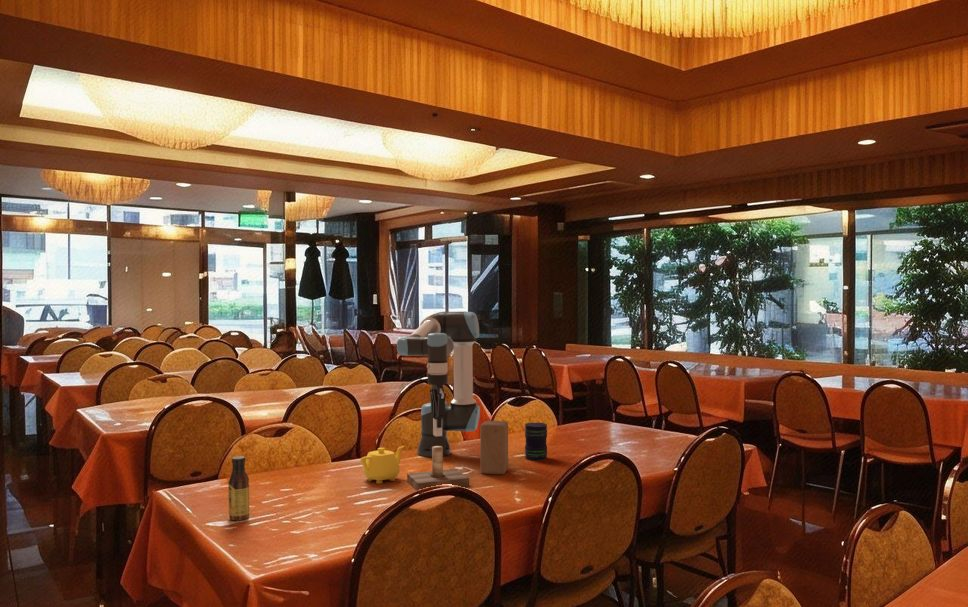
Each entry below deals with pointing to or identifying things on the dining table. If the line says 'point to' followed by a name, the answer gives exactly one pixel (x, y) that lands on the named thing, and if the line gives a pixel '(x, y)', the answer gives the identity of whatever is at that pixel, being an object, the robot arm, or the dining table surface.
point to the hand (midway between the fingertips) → (437, 435)
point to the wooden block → (494, 447)
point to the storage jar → (536, 441)
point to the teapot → (381, 465)
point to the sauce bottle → (238, 490)
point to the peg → (437, 461)
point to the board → (437, 479)
